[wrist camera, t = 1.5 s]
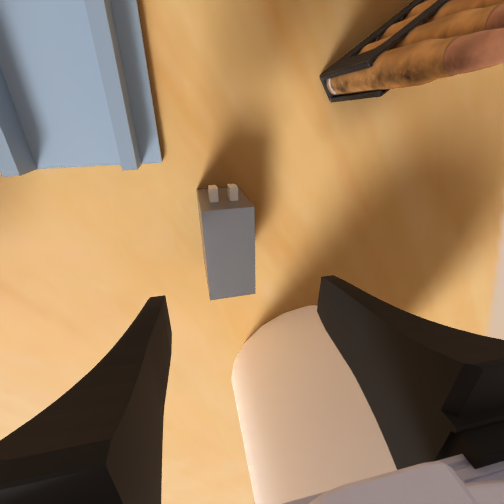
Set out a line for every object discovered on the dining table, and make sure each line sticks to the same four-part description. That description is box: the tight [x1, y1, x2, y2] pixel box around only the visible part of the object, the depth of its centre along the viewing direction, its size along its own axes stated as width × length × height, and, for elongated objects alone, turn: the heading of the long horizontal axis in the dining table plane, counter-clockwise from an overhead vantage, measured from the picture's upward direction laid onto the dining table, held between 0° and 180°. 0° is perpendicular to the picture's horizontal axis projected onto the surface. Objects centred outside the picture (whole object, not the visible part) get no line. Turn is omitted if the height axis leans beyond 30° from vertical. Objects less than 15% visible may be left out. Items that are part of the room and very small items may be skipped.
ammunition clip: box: [320, 0, 504, 102], centre depth 13 cm, size 11×2×12 cm, turn 125°
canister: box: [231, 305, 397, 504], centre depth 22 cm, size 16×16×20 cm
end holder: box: [0, 0, 162, 177], centre depth 13 cm, size 9×12×3 cm
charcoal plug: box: [197, 184, 255, 300], centre depth 19 cm, size 3×7×5 cm, turn 1°
